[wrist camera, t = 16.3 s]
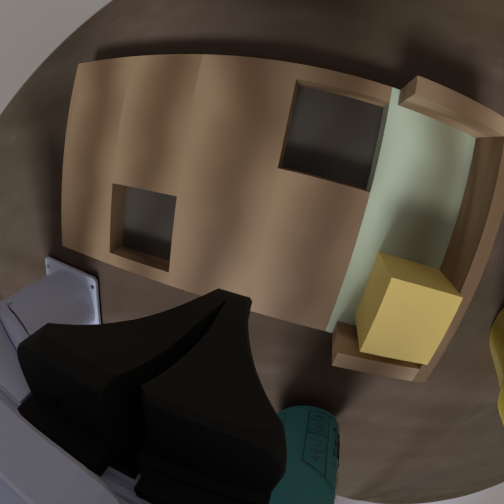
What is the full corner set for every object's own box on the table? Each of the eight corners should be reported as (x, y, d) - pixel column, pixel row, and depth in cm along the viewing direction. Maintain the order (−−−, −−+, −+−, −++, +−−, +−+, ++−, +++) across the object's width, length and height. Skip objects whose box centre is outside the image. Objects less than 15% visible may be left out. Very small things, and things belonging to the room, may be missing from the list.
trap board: (76, 239, 24) (34, 258, 19) (93, 67, 19) (48, 57, 14) (408, 336, 20) (424, 382, 15) (475, 130, 14) (519, 127, 9)
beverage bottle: (260, 402, 25) (187, 596, 7) (325, 382, 23) (285, 616, 4) (292, 438, 26) (247, 608, 8) (352, 422, 24) (332, 614, 5)
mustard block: (354, 314, 18) (359, 351, 14) (378, 251, 17) (391, 277, 13) (413, 328, 17) (427, 364, 14) (439, 269, 16) (463, 297, 12)
